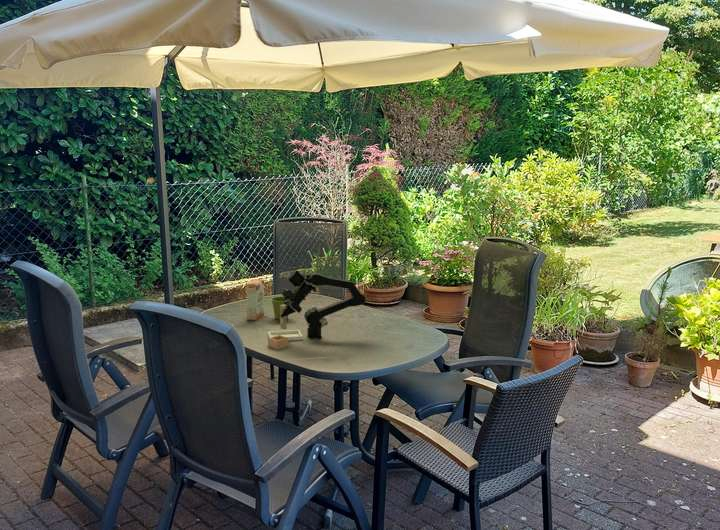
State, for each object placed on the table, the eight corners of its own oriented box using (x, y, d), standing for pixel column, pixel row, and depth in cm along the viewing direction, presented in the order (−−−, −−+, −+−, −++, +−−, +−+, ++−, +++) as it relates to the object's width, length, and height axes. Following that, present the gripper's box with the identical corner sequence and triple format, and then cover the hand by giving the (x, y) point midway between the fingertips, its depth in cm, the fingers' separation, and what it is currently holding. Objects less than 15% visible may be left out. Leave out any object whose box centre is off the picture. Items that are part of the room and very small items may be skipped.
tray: (299, 334, 318) (299, 329, 318) (302, 340, 307) (302, 336, 306) (268, 336, 314) (268, 331, 314) (270, 343, 303) (270, 338, 303)
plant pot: (290, 321, 343) (290, 301, 341) (269, 320, 343) (269, 301, 341) (293, 315, 354) (293, 296, 352) (273, 315, 354) (272, 296, 352)
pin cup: (279, 343, 302) (279, 335, 301) (288, 347, 297) (288, 338, 296) (268, 346, 297) (267, 337, 296) (276, 350, 292) (276, 341, 291)
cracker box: (257, 320, 343) (256, 284, 339) (246, 320, 344) (245, 283, 340) (265, 314, 356) (264, 279, 352) (255, 313, 357) (254, 278, 353)
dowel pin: (287, 327, 309) (286, 304, 306) (285, 329, 306) (284, 306, 304) (281, 327, 309) (281, 304, 307) (279, 329, 306) (279, 305, 304)
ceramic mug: (309, 325, 334) (309, 311, 333) (307, 321, 342) (307, 308, 341) (328, 324, 336) (328, 311, 335) (326, 320, 344) (326, 307, 343)
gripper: (286, 278, 313) (265, 301, 312) (294, 286, 296) (272, 310, 294) (301, 292, 317) (281, 315, 316) (310, 301, 300) (289, 324, 298)
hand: (280, 316), depth 306 cm, fingers closed on dowel pin, 3 cm apart
